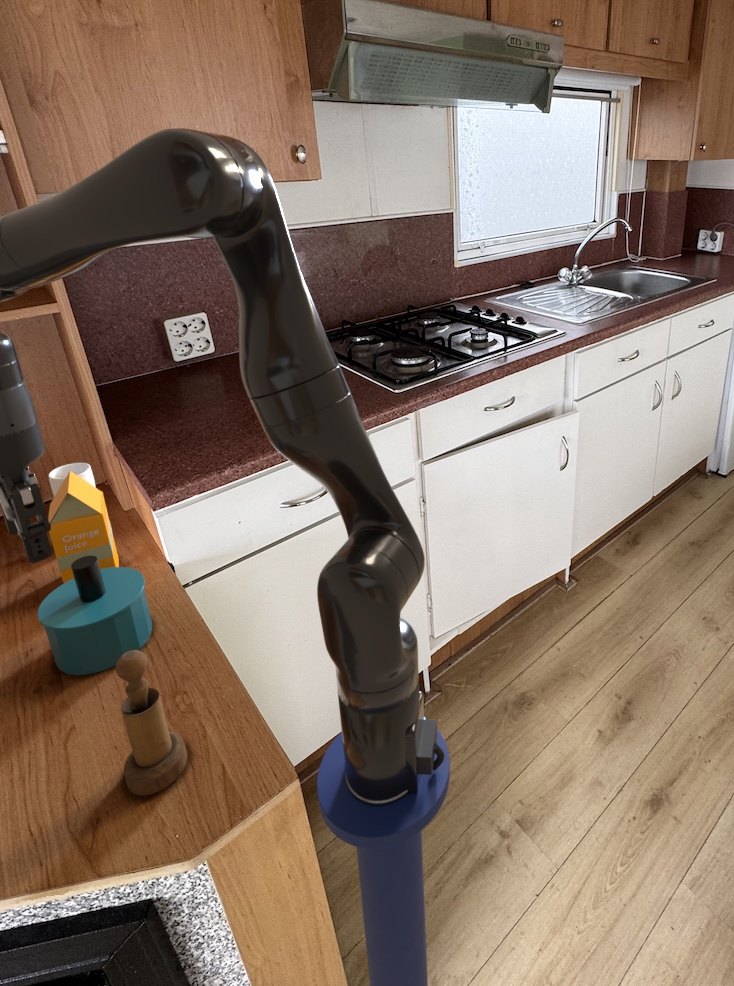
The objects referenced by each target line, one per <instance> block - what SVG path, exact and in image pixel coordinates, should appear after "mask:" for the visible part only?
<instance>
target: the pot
mask: <svg viewBox="0 0 734 986" xmlns="http://www.w3.org/2000/svg"><path fill="white" fill-rule="evenodd" d="M44 630H45V633H46V637H47V639H48V643H49V646H50V649H51V653H52V656H53V659H54V662H55V665H56V667H57V668H58V670H60V672H63V673H64V674H67V675H71V676H72V675H73V676H87V675H92V674H96V673H100V672H104V671H106V670H109V669H112V668H115V667H116V664H117V662H118V660H119V658H120V657H121V656H122V655H123V654H125V653H126V652H129V651H132V650H138V651H141V649H142V648H143V647H144V646H145V644H147V642H148V640H149V639H150V637H151V635H152V633H153V631H152V630H153V622H152V616H151V613H150V607H149V604H148V599H147V595H146V590H145V589H144V590H143V592H142V594H141V595H140V597H139V598H138V599H137V600H136V601H135V602H134V603H133V604H132V605H131V606H130V607H128V608H127V609H126V610H124V611H123V612H121V613H120V614H118V615H116V616H114V617H113V618H111V619H108V620H106V621H104V622H102V623H99V624H96V625H93V626H90V627H86V628H82V629H77V630H69V631H58V630H52V629H48V628H46V627H44Z"/></svg>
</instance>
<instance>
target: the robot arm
mask: <svg viewBox="0 0 734 986" xmlns="http://www.w3.org/2000/svg"><path fill="white" fill-rule="evenodd" d="M176 238H189V239H212V240H213V242H214V243H215V245H216V247H217V248H218V251H219V253H220V255H221V257H222V260H223V263H224V264H225V266H226V268H227V271H228V273H229V275H230V279H231V280H232V284H233V287H234V290H235V294H236V298H237V299H236V300H237V305H238V306H237V307H238V361H239V372H240V378H241V381H242V385H243V387H244V391H245V393H246V396H247V398H249V402H250V404H251V406H252V408H253V410H254V413H255V415H256V417H257V420H258V422H259V424H260V426H261V428H262V430H263V433H264V434H265V437H266V438H267V440H268V441H269V443H270V444H271V445H272V447H273V448H274V449H275V450H276V451H277V453H279V454H280V455H282V456H283V458H285V459H286V460H288V461H289V462H290V463H292V464H293V465H294V466H296V467H297V468H299V469H300V470H301V471H303V472H304V473H306V474H307V475H308V476H310V477H311V478H313V479H314V480H316V482H318V483H319V484H320V485H321V486H322V487H323V488H324V489H325V490H326V491H327V493H328V494H329V495H330V497H331V499H332V501H333V502H334V504H335V506H336V508H337V511H338V513H339V514H340V517H341V519H342V522H343V525H344V528H345V530H346V535H347V540H346V541H345V542H344V543H343V544H342V546H340V547H339V549H338V550H337V551H336V552H335V553H334V554H333V555H332V557H330V559H329V560H328V561H327V562H326V563H325V564H324V566H323V567H322V568H321V571H320V572H319V575H318V579H317V584H316V597H317V606H318V612H319V617H320V623H321V631H322V636H323V641H324V645H325V649H326V652H327V654H328V656H329V658H330V660H331V661H332V663H333V665H334V667H335V669H334V670H335V677H336V678H335V679H336V688H337V698H338V708H339V709H338V710H339V717H340V726H341V727H340V729H341V730H340V731H341V733H342V740H343V750H344V759H345V778H346V784H347V787H348V789H349V791H350V793H351V794H352V795H353V796H354V797H355V798H356V799H357V800H358V801H360V802H362V803H364V804H367V805H371V806H385V805H389V804H392V803H395V802H397V801H399V800H401V799H402V798H404V797H405V796H406V795H408V794H417V793H418V788H419V782H420V776H421V774H423V775H432V770H436V769H437V768H438V767H439V766H440V765H441V764H442V763H443V760H444V752H443V750H442V749H441V748H440V746H439V745H438V744H437V743H436V742H437V729H438V720H437V719H427V718H426V717H425V704H424V702H425V701H424V700H425V699H424V692H423V691H421V690H420V675H419V674H420V673H419V643H418V636H417V634H416V631H415V629H414V628H413V627H412V625H411V624H410V623H409V622H408V621H407V620H405V619H404V618H402V617H401V614H402V610H403V609H404V608H405V606H406V604H407V603H408V601H409V599H410V597H412V594H413V593H414V591H415V590H416V588H417V587H418V585H419V584H420V581H421V580H422V577H423V575H424V570H425V568H426V567H425V566H426V564H425V563H426V561H425V560H426V559H425V558H426V557H425V552H424V547H423V545H422V543H421V540H420V538H419V536H418V534H417V531H416V529H415V528H414V526H413V524H412V522H411V520H410V518H409V517H408V515H407V513H406V510H405V509H404V507H403V505H402V504H401V502H400V500H399V498H398V496H397V495H396V493H395V491H394V489H393V487H392V486H391V485H392V484H391V483H390V482H389V480H388V477H387V475H386V473H385V471H384V470H383V467H382V465H381V462H380V460H379V457H378V455H377V452H376V450H375V448H374V445H373V443H372V441H371V438H370V437H369V434H368V432H367V430H366V428H365V425H364V424H363V421H362V418H361V416H360V413H359V411H358V407H357V406H356V402H355V399H354V397H353V394H352V392H351V388H350V386H349V384H348V382H347V379H346V377H345V375H344V372H343V370H342V367H341V364H339V363H340V362H339V359H338V358H337V356H336V354H335V352H334V350H333V347H332V345H331V343H330V341H329V338H328V336H327V332H326V330H325V328H324V326H323V322H322V321H321V317H320V315H319V313H318V310H317V308H316V305H315V302H314V300H313V298H312V295H311V292H310V290H309V288H308V286H307V283H306V281H305V279H304V276H303V273H302V271H301V268H300V265H299V262H298V259H297V256H296V252H295V249H294V247H293V242H292V240H291V239H292V238H291V235H290V233H289V229H288V226H287V223H286V219H285V216H284V212H283V208H282V206H281V202H280V199H279V196H278V193H277V189H276V186H275V183H274V180H273V178H272V176H271V173H270V171H269V169H268V167H267V165H266V164H265V162H264V161H263V159H262V157H261V156H260V155H259V154H258V153H257V152H256V151H255V149H253V148H252V147H250V146H249V145H248V144H247V143H245V142H244V141H241V140H240V139H238V138H235V137H233V136H229V135H224V134H219V133H215V132H208V131H203V130H197V129H192V128H191V129H190V128H185V127H181V128H180V127H179V128H164V129H162V130H158V131H156V132H154V133H152V134H150V135H148V136H146V137H145V138H143V139H141V140H140V141H138V142H136V143H135V144H133V145H131V146H130V147H129V148H127V149H126V150H125V151H122V152H121V154H119V155H117V156H116V157H115V158H113V159H112V160H110V161H109V162H108V163H106V164H105V165H103V166H102V167H100V168H99V169H98V170H96V171H94V172H92V173H90V175H88V176H86V177H85V178H83V179H81V180H79V181H78V182H76V183H74V184H73V185H71V186H69V187H68V188H66V189H64V190H62V191H60V192H58V193H57V194H54V195H51V196H50V197H48V198H46V199H42V200H41V201H39V202H36V203H33V204H30V205H28V206H25V207H22V208H19V209H16V210H15V211H12V212H9V213H7V214H4V215H1V216H0V304H2V303H4V302H7V301H10V300H13V299H15V298H18V297H20V296H22V295H23V294H25V293H26V292H28V291H30V290H31V289H35V288H38V287H42V286H45V285H48V284H51V283H53V282H57V281H59V280H61V279H65V278H67V277H70V276H72V275H76V274H78V273H80V272H82V271H83V270H85V269H87V268H88V267H90V266H92V265H93V264H95V263H96V262H97V261H98V260H100V259H101V258H102V257H103V256H104V255H106V254H107V253H110V252H112V251H114V250H117V249H120V248H123V247H125V246H129V245H133V244H137V243H138V244H139V243H144V242H152V241H161V240H166V239H167V240H168V239H176ZM38 420H39V419H38V415H37V413H36V409H35V405H34V401H33V398H32V395H31V393H30V391H29V389H28V387H27V384H26V382H25V379H24V374H23V371H22V368H21V363H20V360H19V357H18V353H17V350H16V347H15V344H14V341H13V339H12V338H11V337H10V335H9V334H7V333H6V332H3V331H1V330H0V509H1V512H2V516H3V519H4V521H5V525H6V528H7V531H8V533H9V534H10V535H11V536H14V535H15V536H18V537H20V538H21V541H22V545H23V548H24V551H25V555H26V558H27V560H28V562H29V563H30V564H36V563H39V562H42V561H44V560H46V559H49V558H50V557H52V556H53V550H52V547H51V543H50V540H49V536H48V533H47V532H49V531H50V530H51V524H50V523H49V520H48V514H47V509H46V507H45V503H44V500H43V496H42V493H41V485H39V482H38V479H37V477H36V474H35V472H31V470H30V468H29V465H30V464H32V463H33V462H36V461H38V460H39V459H40V458H41V457H42V456H43V455H44V454H45V452H46V446H45V443H44V439H43V435H42V431H41V428H40V423H39V421H38ZM34 517H35V518H36V520H37V521H34V522H31V518H34ZM435 754H436V755H437V758H436V759H435V760H434V756H435Z"/></svg>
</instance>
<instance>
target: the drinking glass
mask: <svg viewBox="0 0 734 986" xmlns="http://www.w3.org/2000/svg"><path fill="white" fill-rule="evenodd" d="M69 471H71V472H73V473H74V474H76V475H77V476H79V477H80V478H82V479H83V480H85V481H86V482H88V483H89V484H91V485H92V486H94V487H95V488H97V485H96V480H95V476H94V473H93V470H92V467H91V465H90V464H89V463H87V462H73V463H72V462H71V463H68V464H64V465H61V466H58V467H56V468H53V470H51V471H50V472H49V473H48V480H49V484H50V489H51V492H52V496H53V498H54V497H55V495H56V493H57V492H58V490H59V488H60V486H61V485H62V483H63V481H64V480H65V478H66V476H67V474H68V473H69Z"/></svg>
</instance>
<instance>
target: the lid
mask: <svg viewBox="0 0 734 986" xmlns="http://www.w3.org/2000/svg"><path fill="white" fill-rule="evenodd" d="M71 568H72V572H73V575H74V579H71V580H70V581H68V582H66V583H62V584H61V585H59V586H58V587H56V588H55V589H54V590H53V591H51V592H50V593H49V594H48V595H47V596H46V597H45V598H44V599H43V600H42V601H41V603H40V605H39V606H38V609H37V619H38V622H39V623H40V625H42V626H43V627H44V628H45V627H46V628H48V629H52V630H58V631H69V630H77V629H82V628H86V627H90V626H93V625H96V624H99V623H102V622H104V621H106V620H108V619H111V618H113V617H114V616H116V615H118V614H120V613H121V612H123V611H124V610H126V609H127V608H128V607H130V606H131V605H132V604H133V603H134V602H135V601H136V600H137V599H138V598H139V597H140V595H141V594H142V592H143V590H145V586H146V581H145V577H144V575H143V574H142V573H141V571H139V570H138V569H136V568H132V567H125V566H119V567H111V568H104V569H100V567H99V563H98V559H97V557H96V556H85V557H81V558H79V559H77V560H76V561H74V562H73V563H72V565H71Z"/></svg>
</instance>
